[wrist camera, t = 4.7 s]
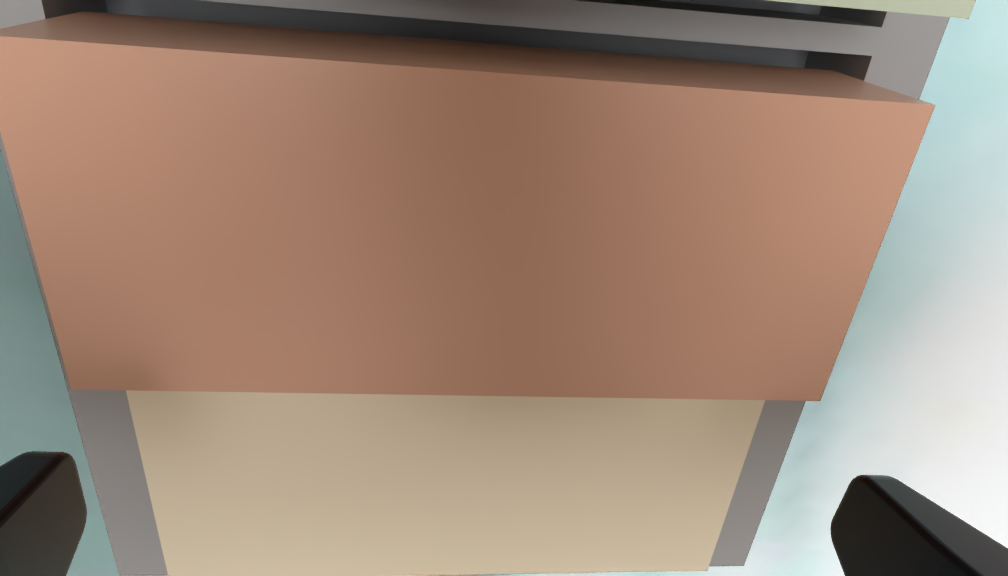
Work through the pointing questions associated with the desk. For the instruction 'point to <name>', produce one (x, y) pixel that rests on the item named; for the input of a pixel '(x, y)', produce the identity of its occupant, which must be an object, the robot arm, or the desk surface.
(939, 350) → the desk surface
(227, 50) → the terracotta key
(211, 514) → the sand key
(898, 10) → the sage key
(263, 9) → the pastel key tray
